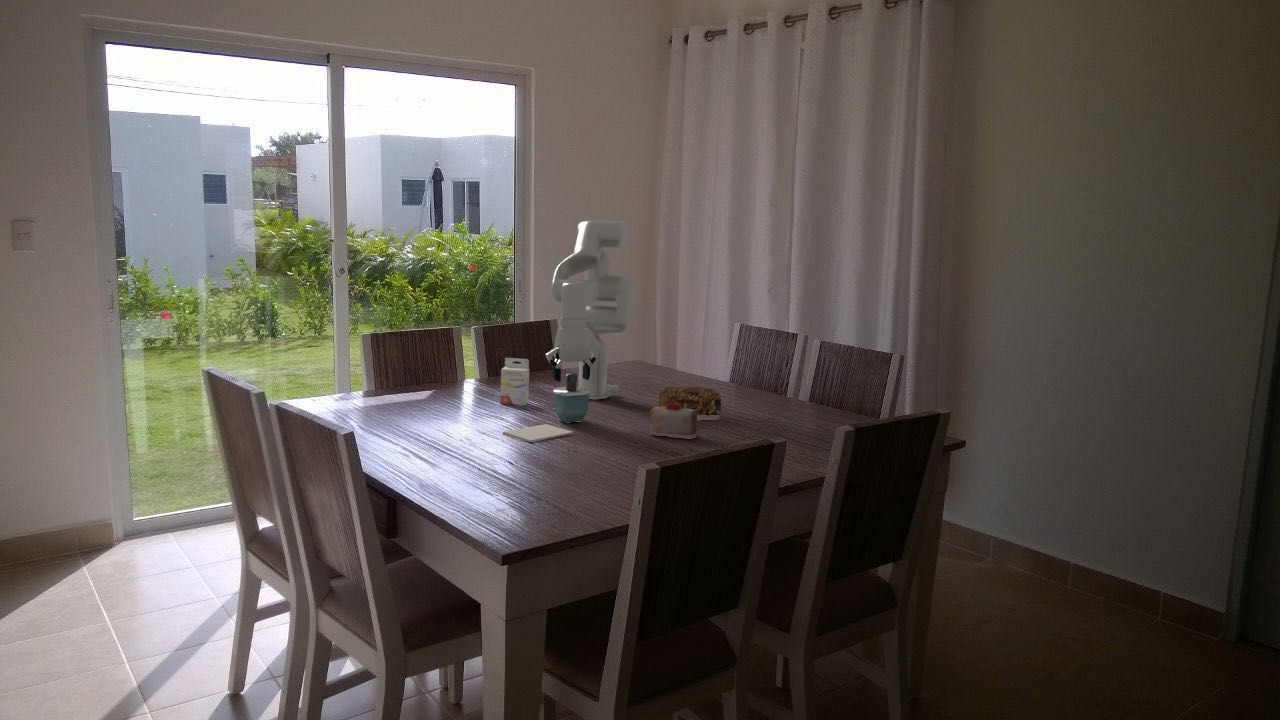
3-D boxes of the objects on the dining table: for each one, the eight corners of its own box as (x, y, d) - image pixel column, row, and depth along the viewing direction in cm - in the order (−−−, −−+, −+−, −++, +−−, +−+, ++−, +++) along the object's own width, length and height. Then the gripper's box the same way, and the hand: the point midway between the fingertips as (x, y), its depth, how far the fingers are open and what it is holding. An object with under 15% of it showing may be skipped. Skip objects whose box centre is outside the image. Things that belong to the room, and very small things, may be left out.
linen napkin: (545, 426, 274) (545, 424, 274) (573, 434, 266) (573, 431, 266) (502, 434, 263) (502, 431, 262) (530, 443, 255) (530, 440, 254)
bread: (661, 421, 288) (663, 389, 287) (657, 413, 299) (659, 383, 297) (721, 422, 290) (722, 390, 289) (715, 414, 301) (716, 384, 299)
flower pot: (551, 419, 284) (552, 390, 283) (578, 417, 288) (579, 389, 286) (561, 425, 276) (562, 396, 275) (589, 424, 280) (590, 394, 278)
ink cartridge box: (499, 404, 302) (500, 359, 300) (503, 401, 307) (504, 357, 305) (525, 405, 302) (526, 361, 299) (528, 402, 306) (529, 358, 304)
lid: (576, 388, 288) (576, 369, 287) (596, 394, 280) (597, 375, 279) (545, 391, 281) (546, 372, 280) (566, 397, 273) (566, 378, 272)
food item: (646, 436, 267) (647, 403, 266) (654, 430, 275) (655, 398, 273) (692, 441, 264) (694, 407, 262) (699, 435, 271) (700, 402, 270)
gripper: (592, 321, 285) (590, 376, 288) (541, 323, 276) (540, 379, 279) (604, 324, 279) (602, 380, 281) (552, 326, 270) (551, 384, 272)
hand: (571, 380), depth 280 cm, fingers open, 9 cm apart
